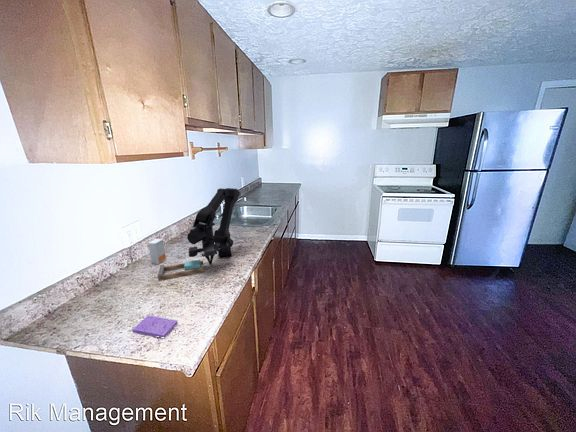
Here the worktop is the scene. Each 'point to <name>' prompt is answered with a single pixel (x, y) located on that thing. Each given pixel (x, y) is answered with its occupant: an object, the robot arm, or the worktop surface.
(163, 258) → the skincare box
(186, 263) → the block
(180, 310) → the worktop surface
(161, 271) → the guide channel
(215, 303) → the worktop surface
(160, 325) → the sponges
